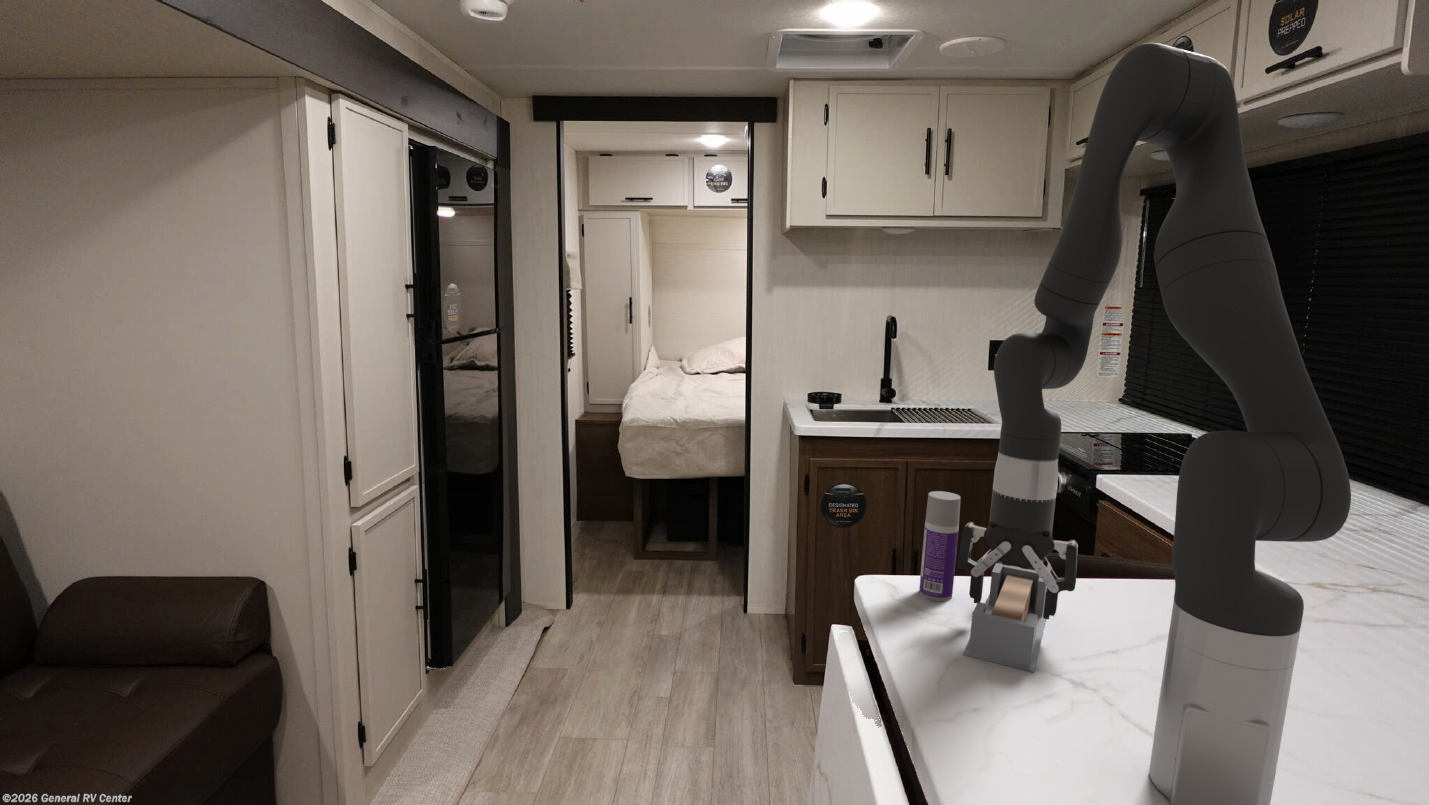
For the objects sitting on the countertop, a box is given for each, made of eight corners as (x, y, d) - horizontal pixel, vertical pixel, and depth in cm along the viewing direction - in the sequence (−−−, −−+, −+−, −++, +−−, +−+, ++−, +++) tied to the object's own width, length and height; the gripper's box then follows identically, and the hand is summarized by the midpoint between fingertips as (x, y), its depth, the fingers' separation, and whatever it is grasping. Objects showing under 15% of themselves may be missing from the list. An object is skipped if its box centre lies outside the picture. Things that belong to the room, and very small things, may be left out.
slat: (1016, 653, 93) (1019, 622, 92) (987, 646, 95) (990, 616, 94) (1030, 606, 107) (1033, 579, 106) (1004, 601, 109) (1007, 574, 108)
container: (959, 599, 110) (968, 498, 108) (932, 603, 108) (941, 501, 106) (938, 586, 115) (947, 490, 112) (912, 590, 113) (920, 492, 110)
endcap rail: (1034, 672, 90) (1039, 628, 89) (964, 655, 93) (968, 612, 93) (1048, 611, 107) (1052, 573, 106) (988, 598, 111) (992, 562, 110)
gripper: (961, 487, 97) (950, 607, 100) (1084, 506, 91) (1069, 634, 93) (971, 474, 104) (960, 587, 106) (1087, 491, 97) (1072, 611, 100)
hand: (1011, 609), depth 100 cm, fingers open, 8 cm apart
